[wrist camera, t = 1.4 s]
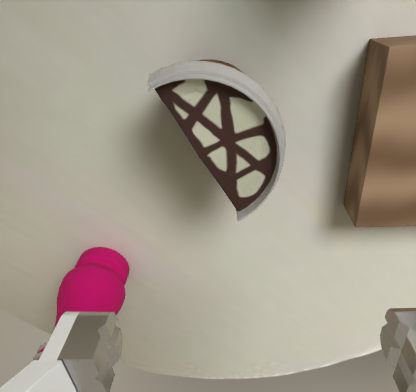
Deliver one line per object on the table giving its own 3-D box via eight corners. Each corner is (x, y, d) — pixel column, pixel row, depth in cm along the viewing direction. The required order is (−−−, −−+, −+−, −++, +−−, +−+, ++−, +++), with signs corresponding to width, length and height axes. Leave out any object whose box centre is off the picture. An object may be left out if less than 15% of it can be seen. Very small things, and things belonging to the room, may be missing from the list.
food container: (295, 136, 32) (319, 191, 24) (238, 165, 34) (241, 226, 26) (231, 10, 27) (232, 23, 18) (167, 53, 29) (142, 82, 20)
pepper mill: (104, 293, 45) (30, 479, 28) (63, 258, 42) (-47, 443, 25) (145, 272, 43) (90, 462, 26) (105, 234, 40) (13, 420, 23)
